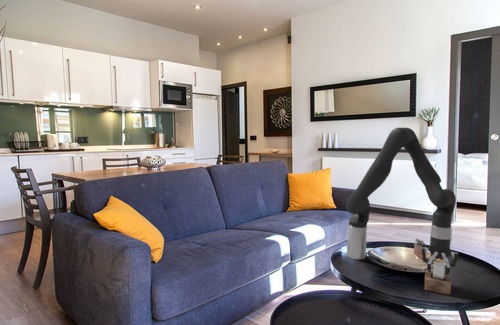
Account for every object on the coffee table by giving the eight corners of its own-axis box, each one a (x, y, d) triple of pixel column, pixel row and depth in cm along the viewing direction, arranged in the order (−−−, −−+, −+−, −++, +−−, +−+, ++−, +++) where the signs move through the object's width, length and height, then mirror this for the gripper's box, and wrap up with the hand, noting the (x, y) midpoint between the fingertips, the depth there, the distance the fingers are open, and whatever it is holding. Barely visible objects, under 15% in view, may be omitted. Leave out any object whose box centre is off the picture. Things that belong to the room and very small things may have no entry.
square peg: (432, 286, 141) (433, 264, 140) (432, 282, 144) (433, 261, 143) (442, 288, 139) (444, 266, 138) (442, 284, 142) (444, 263, 141)
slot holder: (424, 290, 140) (425, 279, 139) (424, 280, 148) (425, 270, 148) (450, 295, 136) (451, 284, 135) (448, 285, 144) (449, 274, 143)
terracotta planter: (427, 261, 168) (428, 243, 166) (421, 262, 167) (422, 243, 166) (417, 255, 176) (418, 237, 174) (411, 255, 175) (412, 237, 174)
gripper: (421, 235, 139) (419, 273, 141) (461, 241, 132) (458, 280, 134) (421, 230, 146) (419, 266, 148) (459, 235, 139) (456, 273, 141)
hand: (437, 273), depth 141 cm, fingers open, 5 cm apart
